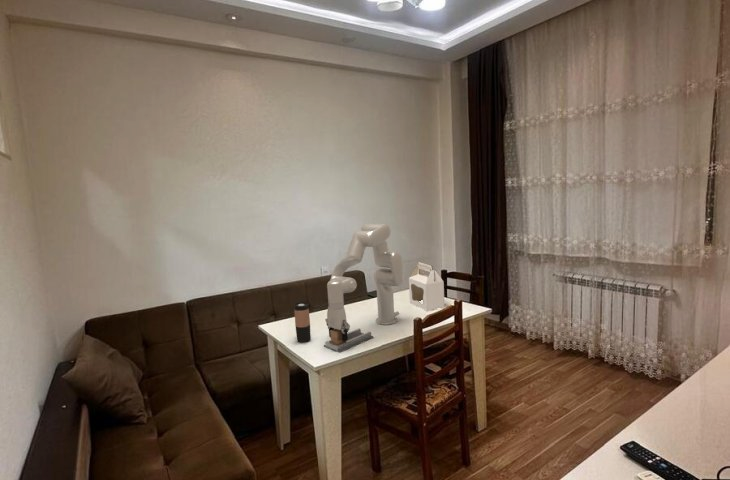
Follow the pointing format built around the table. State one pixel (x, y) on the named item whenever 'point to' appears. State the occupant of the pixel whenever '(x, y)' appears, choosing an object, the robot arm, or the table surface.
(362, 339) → the guide channel
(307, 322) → the travel mug
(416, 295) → the gable box
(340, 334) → the walnut block
